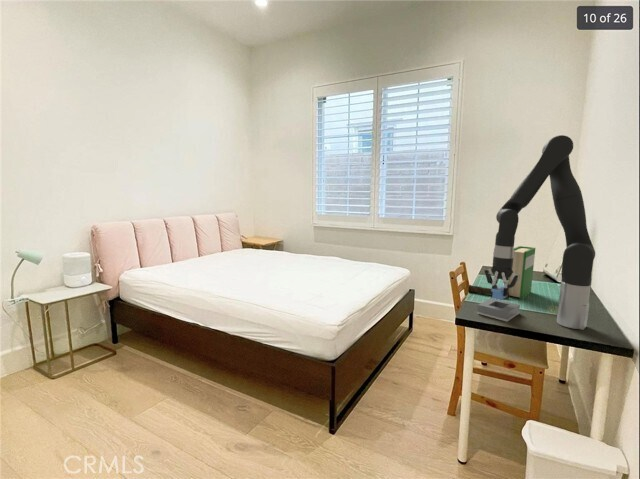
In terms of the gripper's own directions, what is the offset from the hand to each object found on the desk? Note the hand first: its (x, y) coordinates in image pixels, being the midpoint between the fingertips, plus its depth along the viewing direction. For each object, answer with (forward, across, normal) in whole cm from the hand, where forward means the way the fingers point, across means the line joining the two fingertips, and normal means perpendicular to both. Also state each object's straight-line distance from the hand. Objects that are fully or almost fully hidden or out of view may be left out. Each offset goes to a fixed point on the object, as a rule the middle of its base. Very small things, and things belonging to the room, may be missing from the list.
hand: (499, 294), depth 143 cm
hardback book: (+9, +4, -38) cm, 39 cm away
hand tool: (+9, +14, -25) cm, 30 cm away
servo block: (+1, 0, 0) cm, 1 cm away
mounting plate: (+8, 0, 0) cm, 8 cm away
